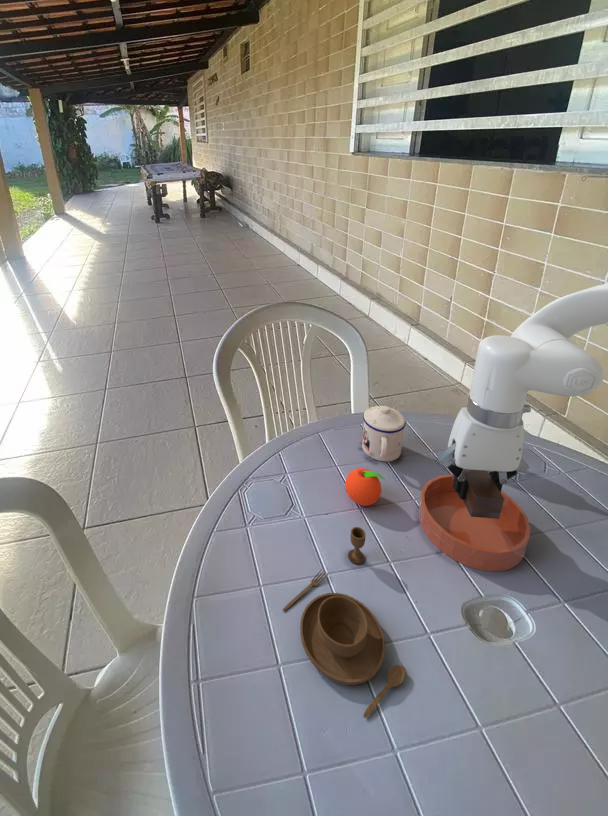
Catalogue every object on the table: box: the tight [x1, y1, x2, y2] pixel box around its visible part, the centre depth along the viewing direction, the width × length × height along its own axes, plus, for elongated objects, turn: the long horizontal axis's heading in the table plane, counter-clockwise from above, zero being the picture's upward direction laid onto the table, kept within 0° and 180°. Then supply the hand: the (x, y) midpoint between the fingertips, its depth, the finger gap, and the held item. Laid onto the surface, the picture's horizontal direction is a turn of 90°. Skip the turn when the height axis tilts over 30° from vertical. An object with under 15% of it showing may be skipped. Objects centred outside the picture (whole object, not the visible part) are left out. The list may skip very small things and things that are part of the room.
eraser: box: [452, 470, 504, 519], centre depth 75 cm, size 4×9×4 cm, turn 172°
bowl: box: [418, 474, 531, 572], centre depth 78 cm, size 17×17×4 cm
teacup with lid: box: [361, 405, 407, 462], centre depth 96 cm, size 12×9×12 cm
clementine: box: [344, 467, 386, 507], centre depth 85 cm, size 8×7×7 cm
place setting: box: [282, 526, 406, 719], centre depth 64 cm, size 18×20×6 cm
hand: (475, 493), depth 76 cm, fingers closed on eraser, 4 cm apart
